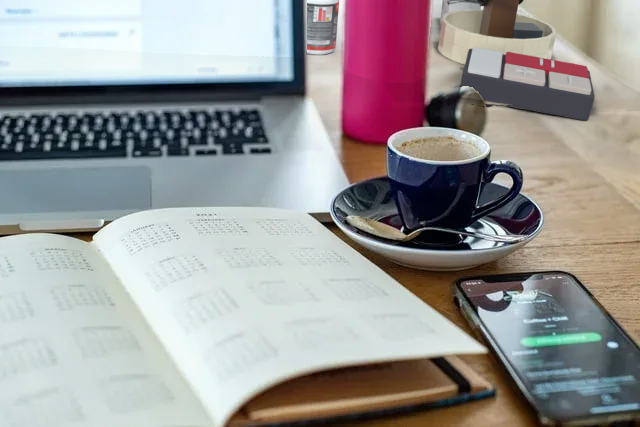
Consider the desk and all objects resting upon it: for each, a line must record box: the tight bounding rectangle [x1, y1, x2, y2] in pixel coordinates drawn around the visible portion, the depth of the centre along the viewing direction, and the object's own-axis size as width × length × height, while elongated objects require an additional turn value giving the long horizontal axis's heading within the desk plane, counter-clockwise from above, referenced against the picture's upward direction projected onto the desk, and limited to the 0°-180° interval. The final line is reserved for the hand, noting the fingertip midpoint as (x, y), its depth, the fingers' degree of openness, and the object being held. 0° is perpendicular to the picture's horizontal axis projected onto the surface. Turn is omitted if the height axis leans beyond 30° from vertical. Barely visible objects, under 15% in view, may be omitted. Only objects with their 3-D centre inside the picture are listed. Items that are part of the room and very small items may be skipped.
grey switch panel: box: [459, 47, 595, 122], centre depth 105 cm, size 11×4×15 cm
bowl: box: [437, 9, 557, 66], centre depth 119 cm, size 15×15×5 cm
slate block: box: [512, 22, 543, 39], centre depth 119 cm, size 4×4×4 cm
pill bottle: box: [306, 0, 340, 56], centre depth 116 cm, size 6×6×10 cm
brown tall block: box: [479, 0, 520, 38], centre depth 116 cm, size 4×4×12 cm
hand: (496, 0), depth 118 cm, fingers closed on brown tall block, 3 cm apart
